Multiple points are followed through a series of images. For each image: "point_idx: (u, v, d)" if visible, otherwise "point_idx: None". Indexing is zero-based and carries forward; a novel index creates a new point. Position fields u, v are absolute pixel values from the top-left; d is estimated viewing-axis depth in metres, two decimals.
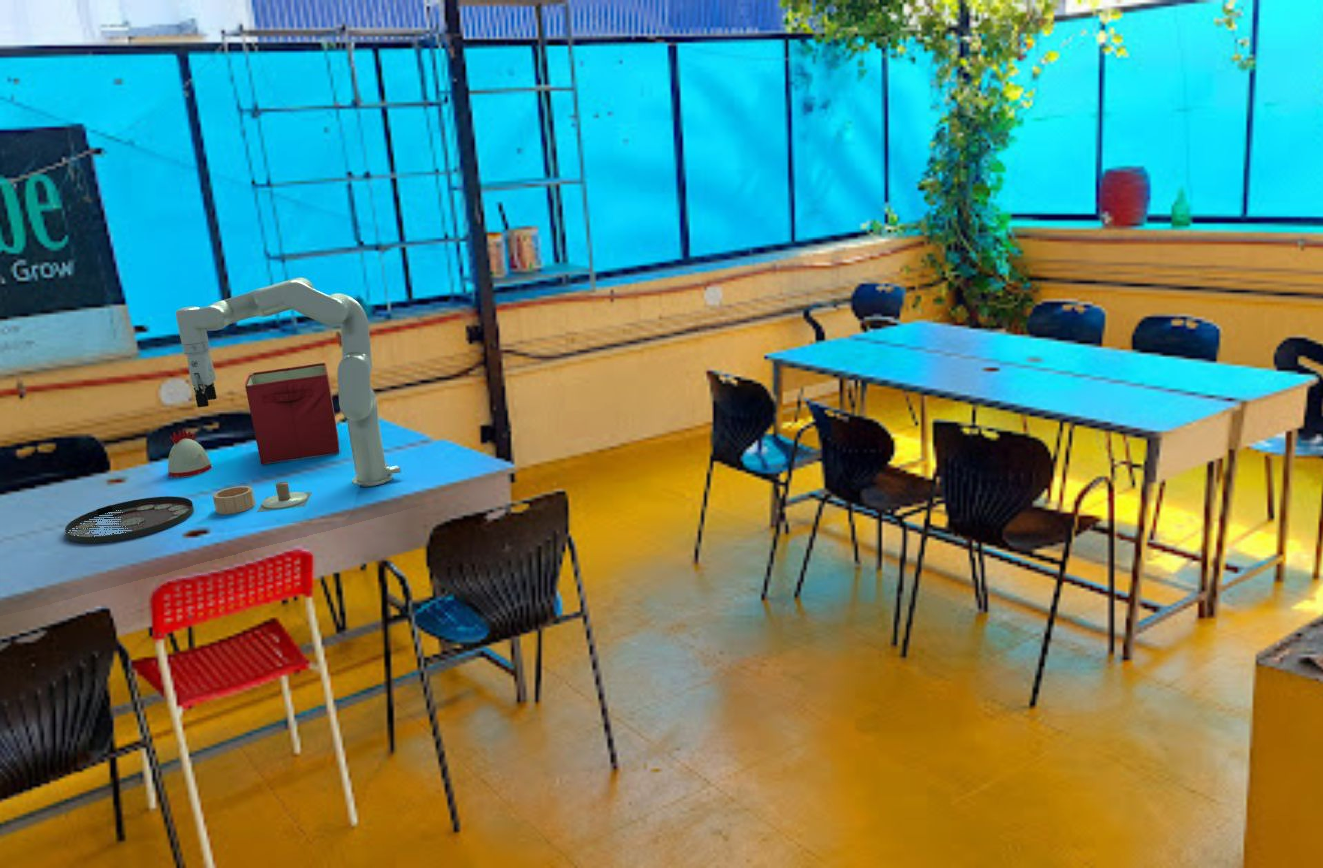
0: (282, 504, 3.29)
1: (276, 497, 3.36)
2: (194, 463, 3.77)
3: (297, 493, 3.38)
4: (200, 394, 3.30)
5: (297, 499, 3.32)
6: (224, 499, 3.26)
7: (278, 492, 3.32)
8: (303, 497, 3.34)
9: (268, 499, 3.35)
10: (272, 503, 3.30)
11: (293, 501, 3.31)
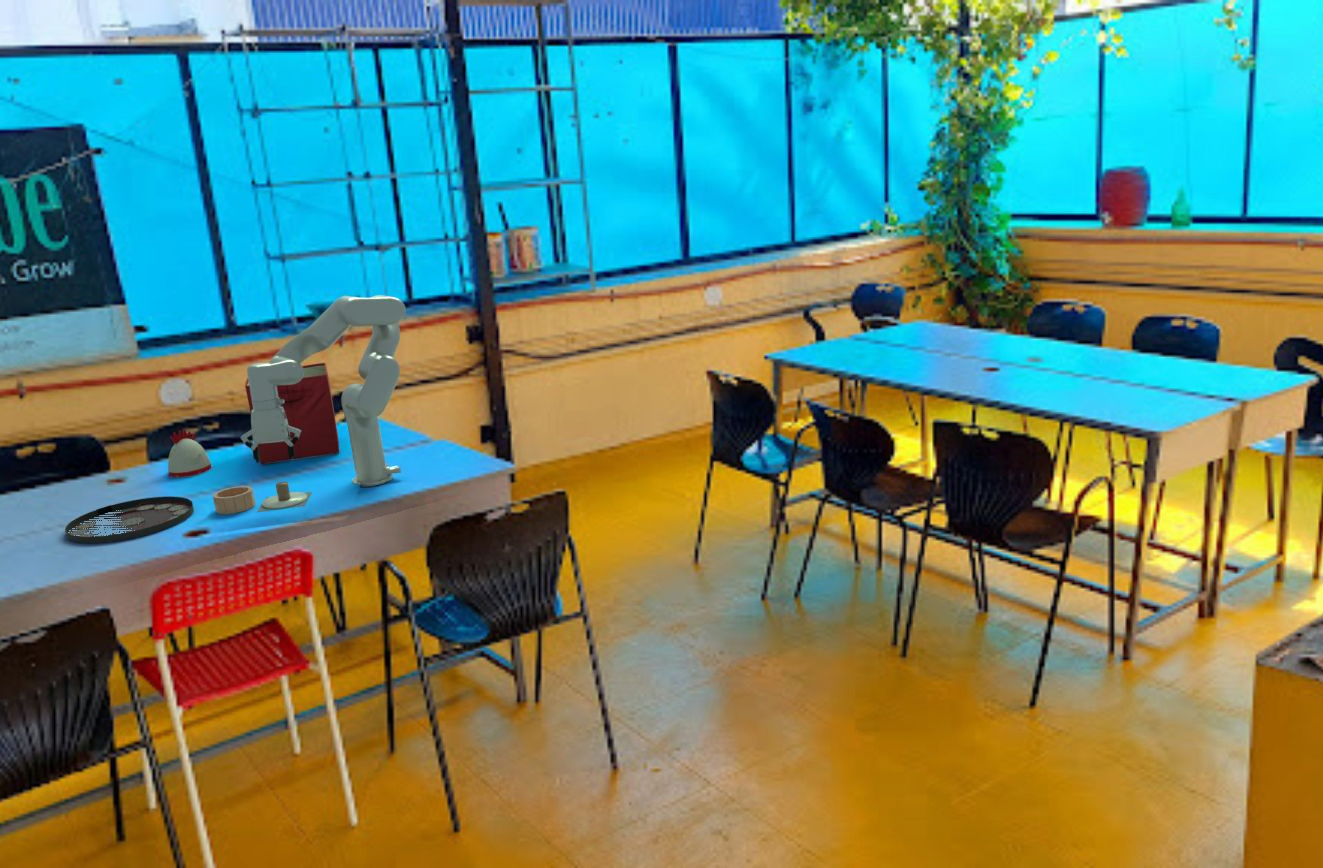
0: (282, 504, 3.29)
1: (276, 497, 3.36)
2: (194, 463, 3.77)
3: (297, 493, 3.38)
4: (293, 445, 3.30)
5: (297, 499, 3.32)
6: (224, 499, 3.26)
7: (278, 492, 3.32)
8: (303, 497, 3.34)
9: (268, 499, 3.35)
10: (272, 503, 3.30)
11: (293, 501, 3.31)
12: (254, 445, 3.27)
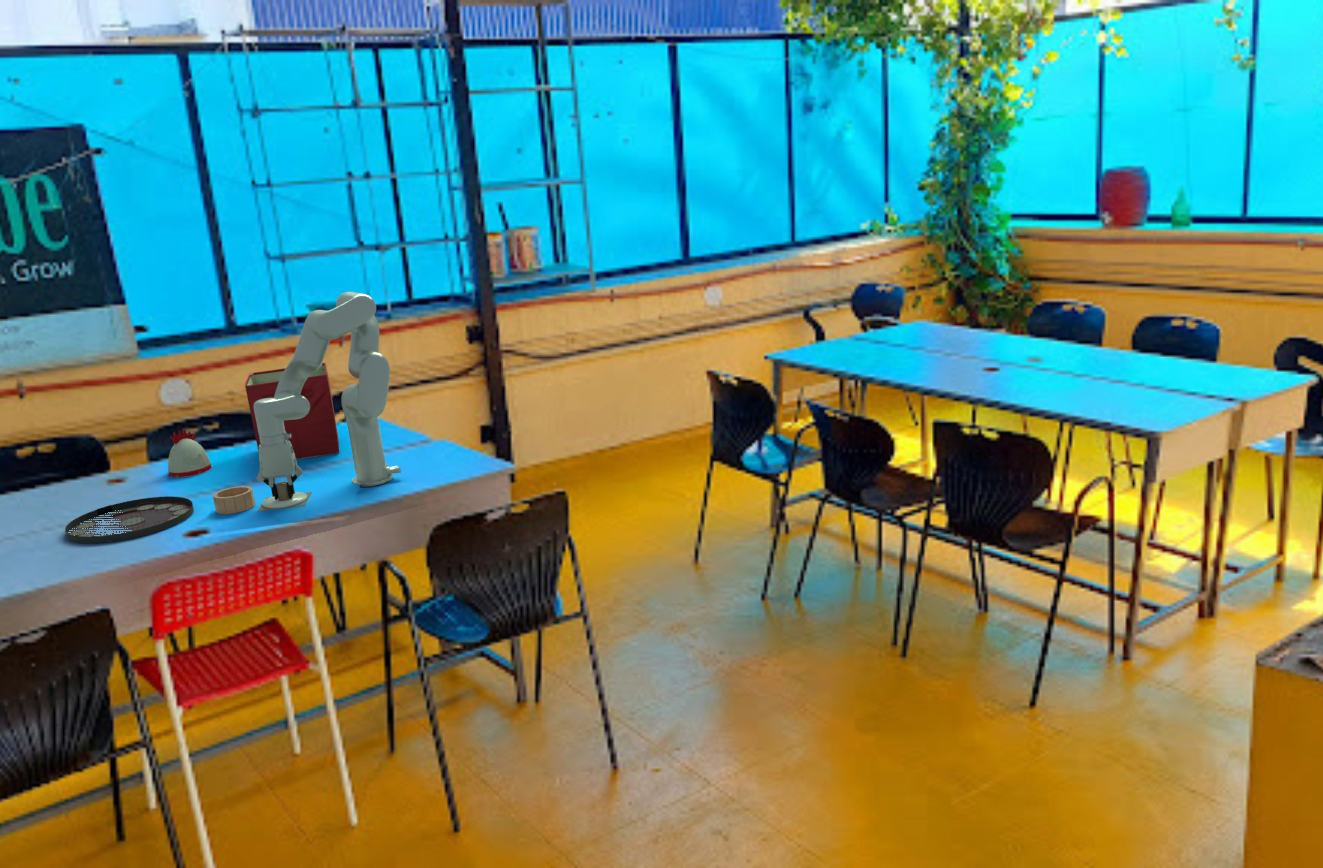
0: (282, 504, 3.29)
1: None
2: (194, 463, 3.77)
3: (297, 493, 3.38)
4: None
5: (297, 499, 3.32)
6: (224, 499, 3.26)
7: (278, 492, 3.32)
8: (303, 497, 3.34)
9: (268, 499, 3.35)
10: (272, 503, 3.30)
11: (293, 501, 3.31)
12: (270, 482, 3.31)
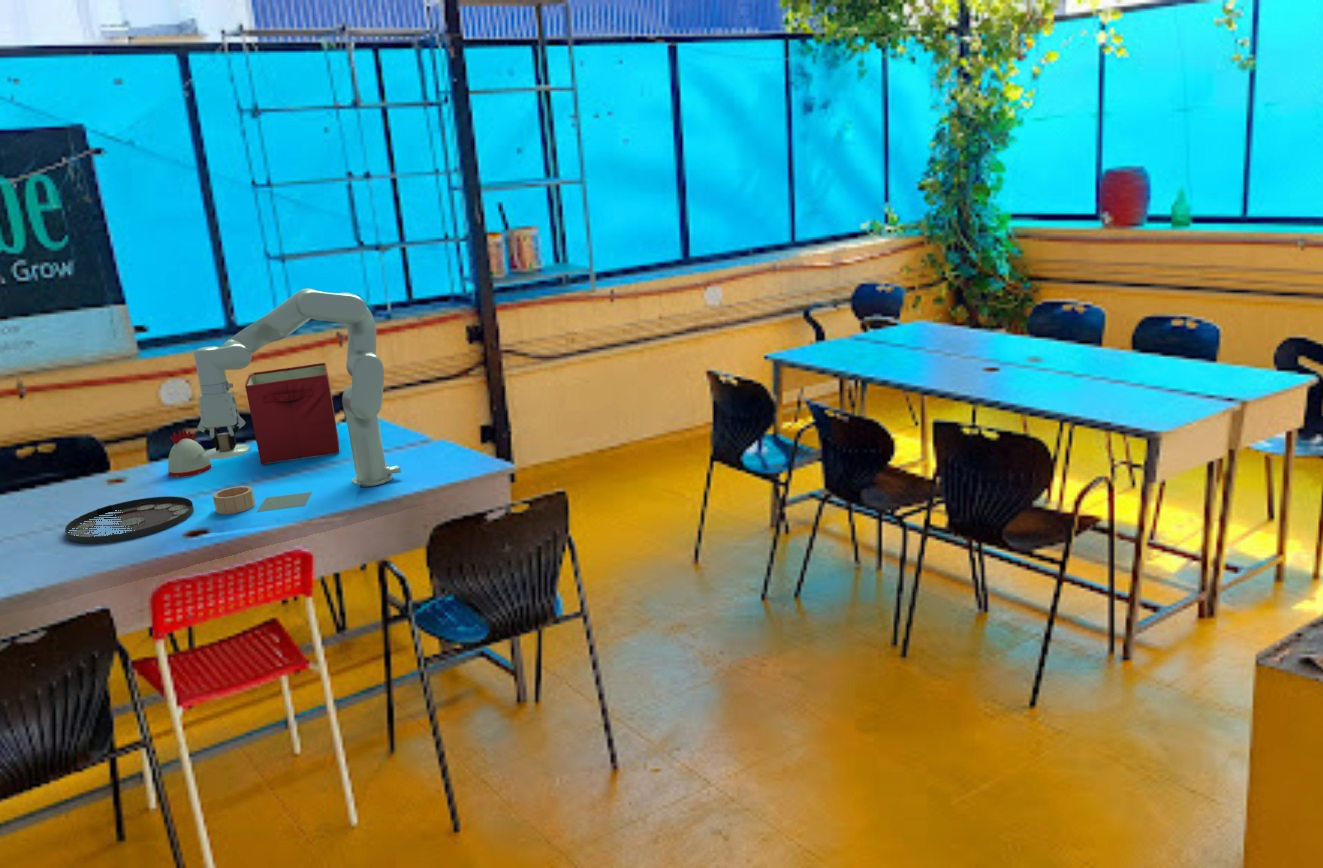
0: (223, 455, 3.22)
1: None
2: (194, 463, 3.77)
3: (240, 445, 3.32)
4: (234, 434, 3.27)
5: (239, 450, 3.26)
6: (224, 499, 3.26)
7: (219, 443, 3.25)
8: (245, 448, 3.27)
9: (209, 450, 3.29)
10: (213, 454, 3.24)
11: (234, 452, 3.24)
12: (211, 432, 3.24)
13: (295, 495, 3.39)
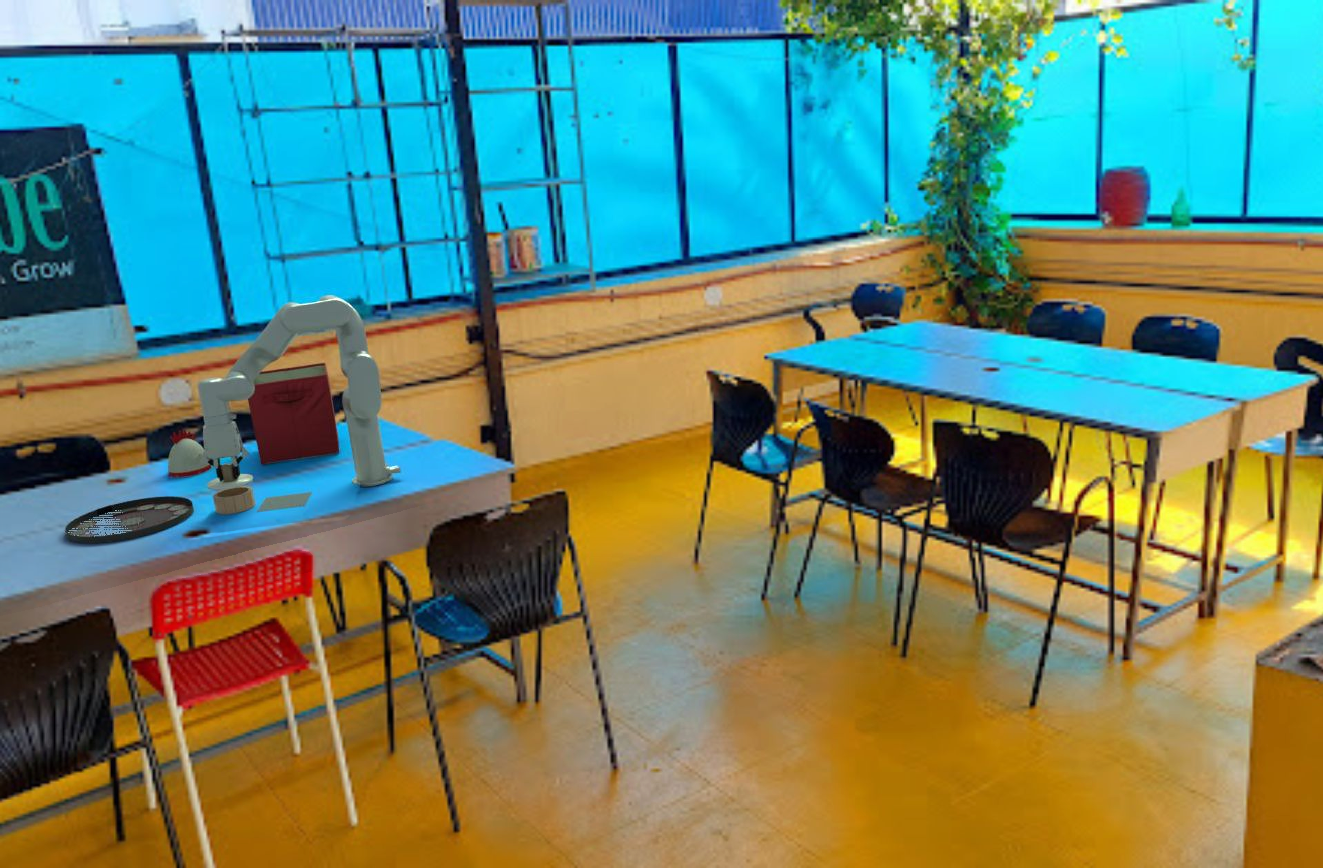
0: (226, 485, 3.25)
1: None
2: (194, 463, 3.77)
3: (243, 475, 3.35)
4: (238, 464, 3.29)
5: (242, 480, 3.28)
6: (224, 499, 3.26)
7: (223, 473, 3.28)
8: (248, 479, 3.30)
9: (213, 480, 3.31)
10: (217, 485, 3.26)
11: (238, 482, 3.27)
12: (215, 463, 3.27)
13: (295, 495, 3.39)
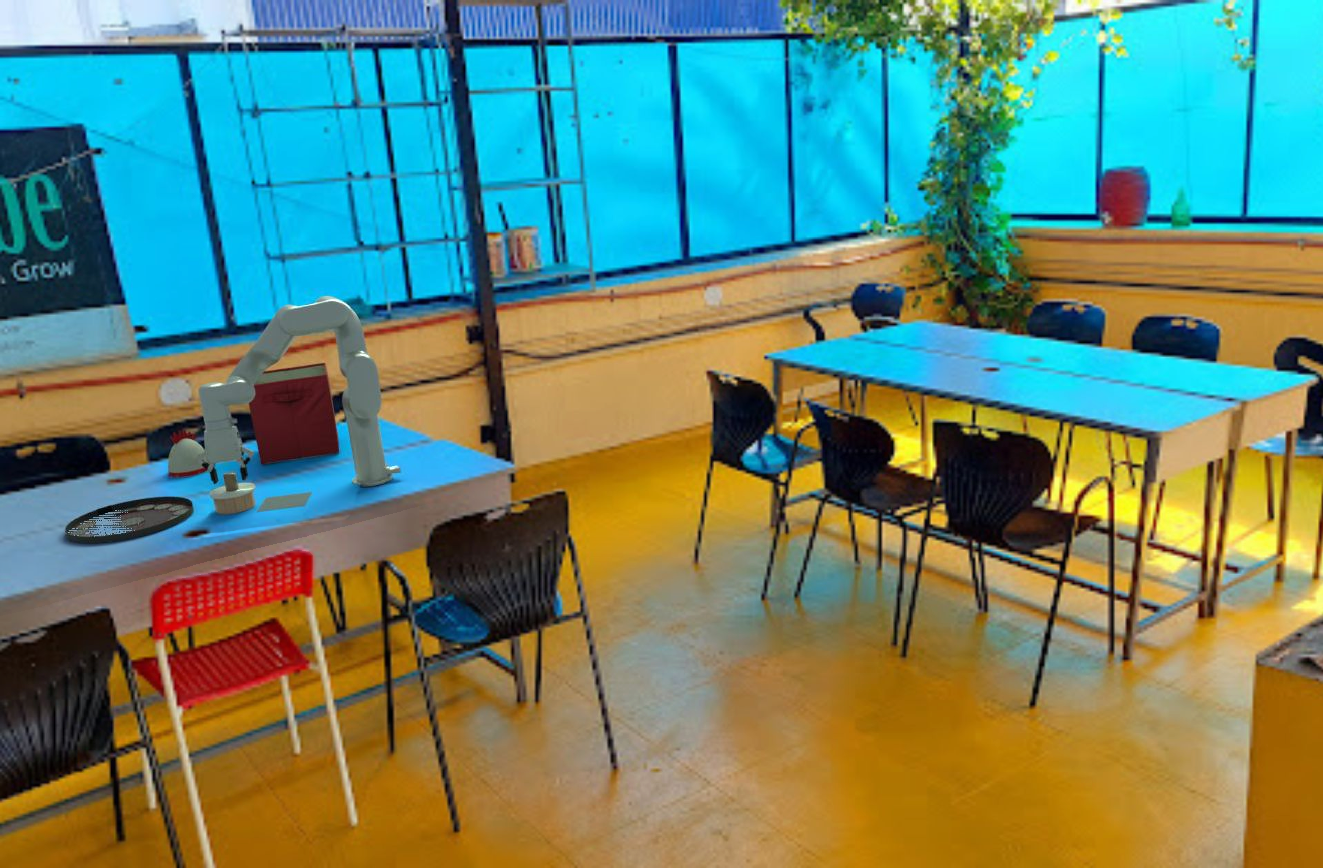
0: (229, 494, 3.26)
1: (224, 487, 3.33)
2: (194, 463, 3.77)
3: (246, 484, 3.35)
4: None
5: (245, 489, 3.29)
6: (224, 499, 3.26)
7: (225, 482, 3.29)
8: (251, 487, 3.31)
9: (216, 489, 3.32)
10: (219, 494, 3.27)
11: (240, 491, 3.28)
12: (210, 466, 3.27)
13: (295, 495, 3.39)
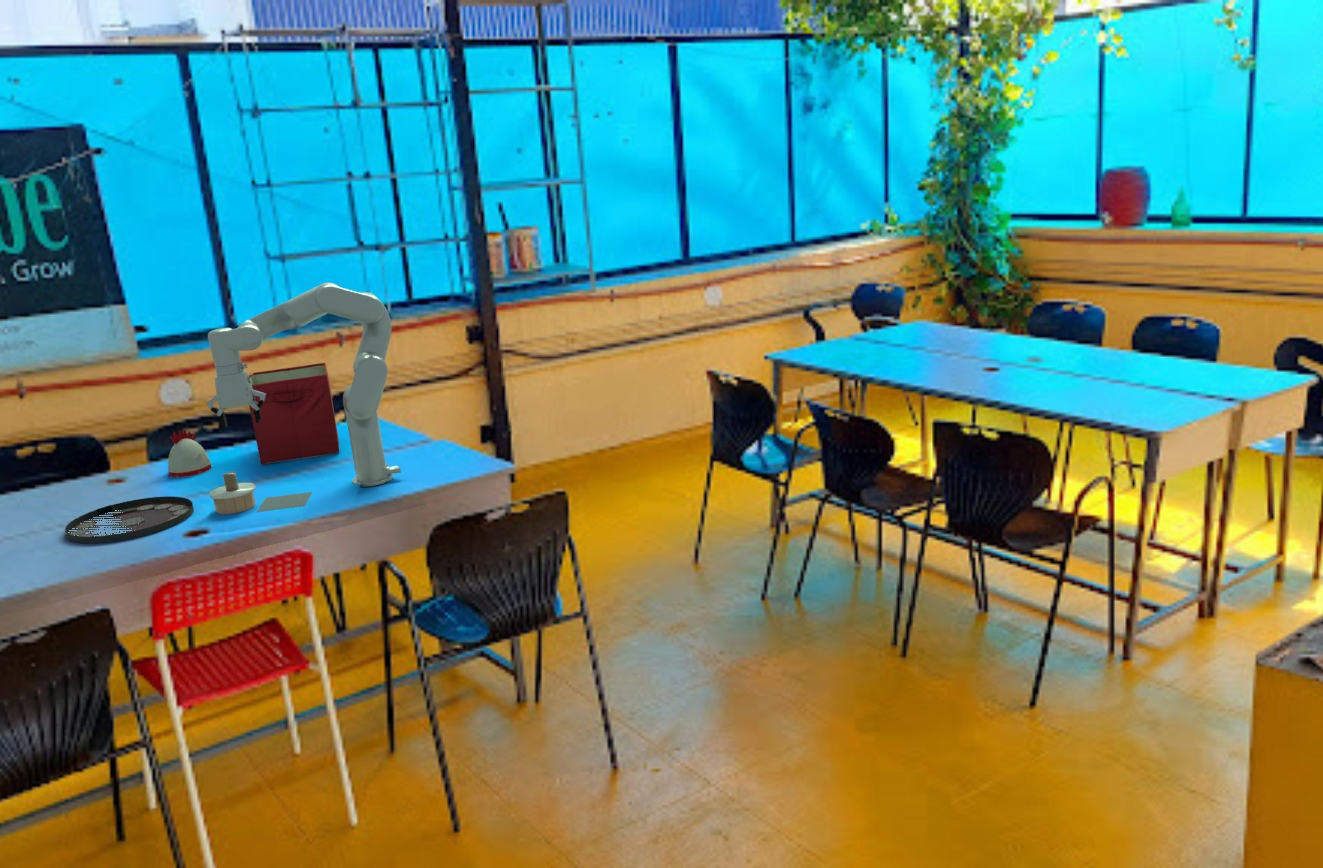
0: (229, 494, 3.26)
1: (224, 487, 3.33)
2: (194, 463, 3.77)
3: (246, 484, 3.35)
4: (259, 408, 3.32)
5: (245, 489, 3.29)
6: (224, 499, 3.26)
7: (225, 482, 3.29)
8: (251, 487, 3.31)
9: (216, 489, 3.32)
10: (219, 494, 3.27)
11: (240, 491, 3.28)
12: (220, 411, 3.29)
13: (295, 495, 3.39)
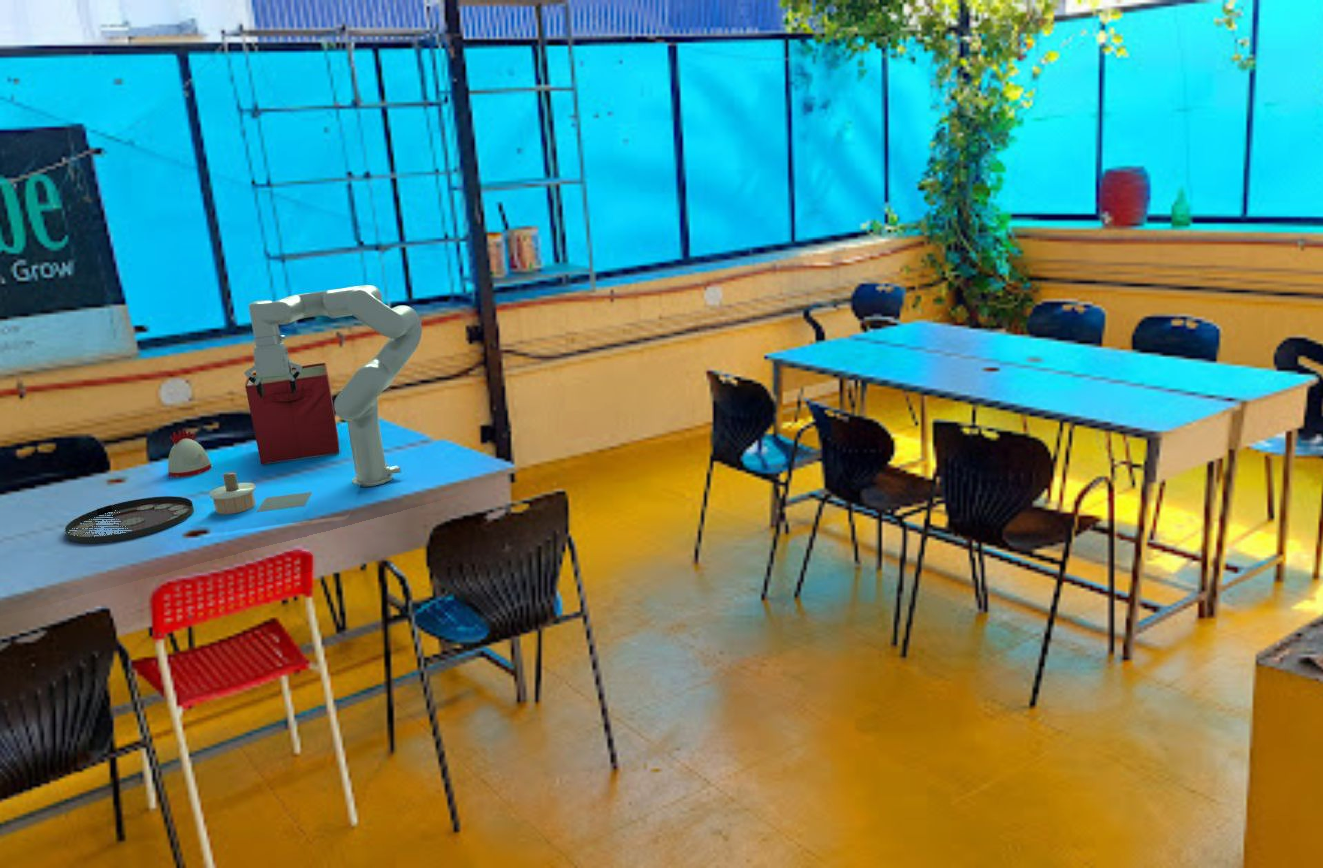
0: (229, 494, 3.26)
1: (224, 487, 3.33)
2: (194, 463, 3.77)
3: (246, 484, 3.35)
4: (295, 380, 3.44)
5: (245, 489, 3.29)
6: (224, 499, 3.26)
7: (225, 482, 3.29)
8: (251, 487, 3.31)
9: (216, 489, 3.32)
10: (219, 494, 3.27)
11: (240, 491, 3.28)
12: (257, 380, 3.41)
13: (295, 495, 3.39)
